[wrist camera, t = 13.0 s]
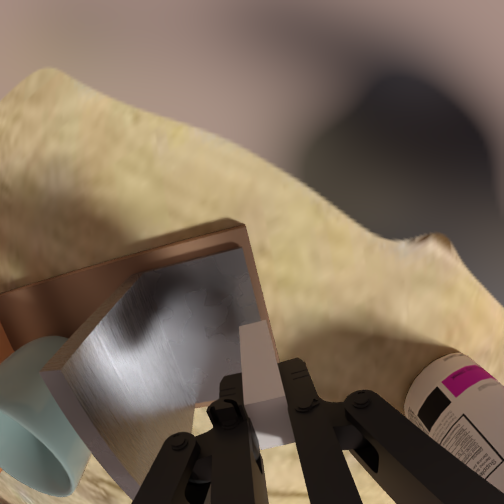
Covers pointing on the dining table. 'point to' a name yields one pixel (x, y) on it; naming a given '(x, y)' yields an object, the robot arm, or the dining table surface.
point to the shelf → (108, 288)
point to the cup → (37, 424)
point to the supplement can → (461, 413)
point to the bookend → (152, 359)
